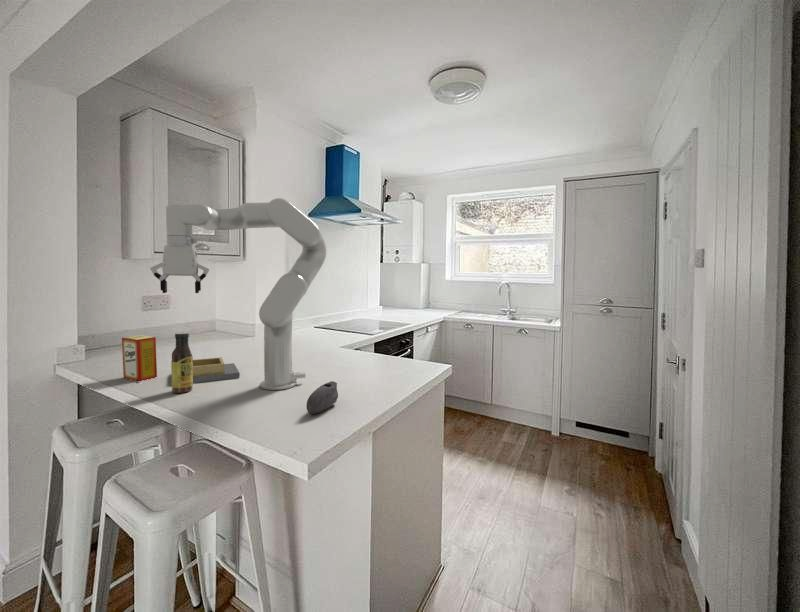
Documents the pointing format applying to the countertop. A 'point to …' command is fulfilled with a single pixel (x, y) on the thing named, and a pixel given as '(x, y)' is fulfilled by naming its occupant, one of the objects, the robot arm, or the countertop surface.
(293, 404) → the countertop surface
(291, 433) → the countertop surface
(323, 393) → the perforated stone tool
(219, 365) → the wooden tray on slab
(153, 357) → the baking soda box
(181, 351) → the sauce bottle
